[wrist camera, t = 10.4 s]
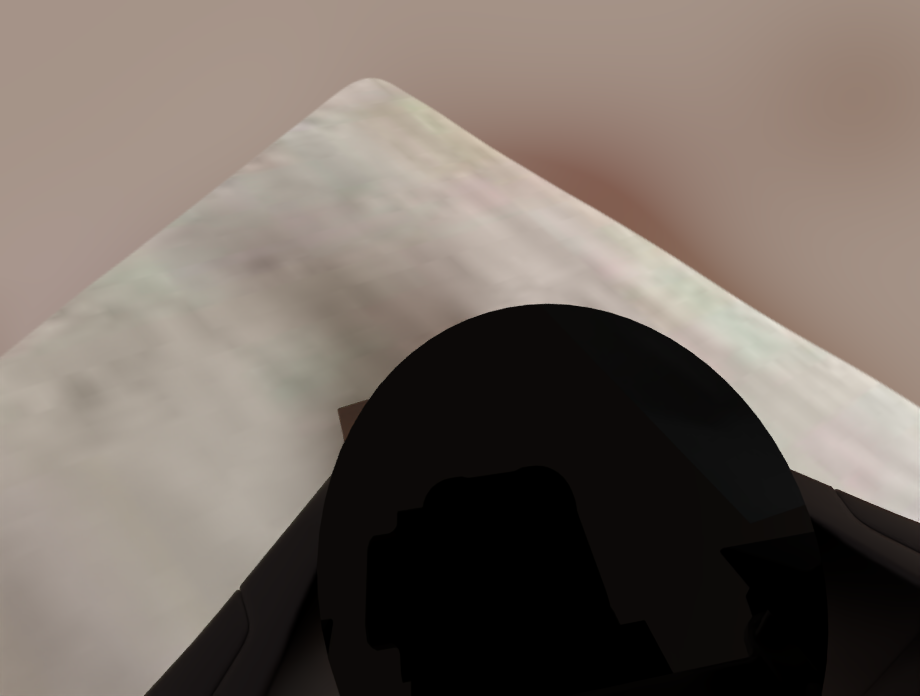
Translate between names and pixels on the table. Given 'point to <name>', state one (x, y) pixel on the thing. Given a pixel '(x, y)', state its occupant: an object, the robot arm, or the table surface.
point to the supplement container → (566, 524)
